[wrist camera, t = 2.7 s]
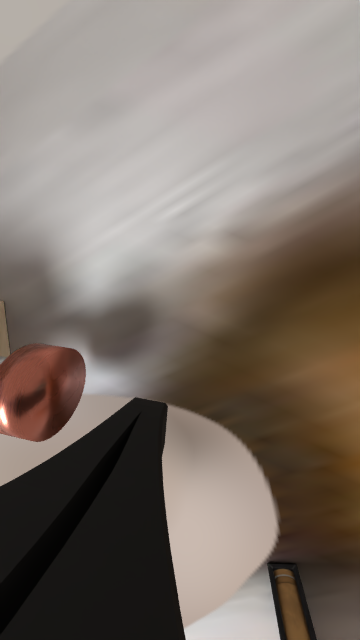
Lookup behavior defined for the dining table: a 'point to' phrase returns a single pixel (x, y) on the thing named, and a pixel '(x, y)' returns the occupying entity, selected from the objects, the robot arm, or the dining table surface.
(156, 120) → the dining table surface
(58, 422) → the shaft
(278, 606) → the ammunition clip
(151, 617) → the robot arm
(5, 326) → the bearing block
